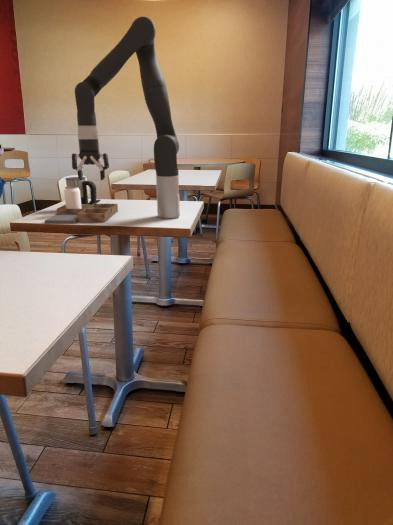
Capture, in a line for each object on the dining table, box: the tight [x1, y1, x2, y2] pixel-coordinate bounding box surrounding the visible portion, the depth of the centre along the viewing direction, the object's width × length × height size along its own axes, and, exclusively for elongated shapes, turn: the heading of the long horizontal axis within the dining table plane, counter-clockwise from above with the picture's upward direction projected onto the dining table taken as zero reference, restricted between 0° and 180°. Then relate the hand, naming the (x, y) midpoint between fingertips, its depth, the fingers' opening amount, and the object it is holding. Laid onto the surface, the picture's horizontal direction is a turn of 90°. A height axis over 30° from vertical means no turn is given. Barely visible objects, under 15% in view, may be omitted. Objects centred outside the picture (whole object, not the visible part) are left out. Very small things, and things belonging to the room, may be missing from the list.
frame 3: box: [87, 203, 119, 217], centre depth 180 cm, size 11×11×4 cm
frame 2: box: [76, 208, 113, 223], centre depth 169 cm, size 11×11×4 cm
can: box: [64, 186, 82, 209], centre depth 177 cm, size 6×6×12 cm
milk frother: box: [64, 176, 101, 205], centre depth 191 cm, size 14×16×15 cm
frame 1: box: [56, 203, 90, 215], centre depth 179 cm, size 11×11×4 cm
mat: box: [44, 213, 78, 224], centre depth 168 cm, size 12×12×1 cm
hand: (91, 180), depth 164 cm, fingers open, 8 cm apart
